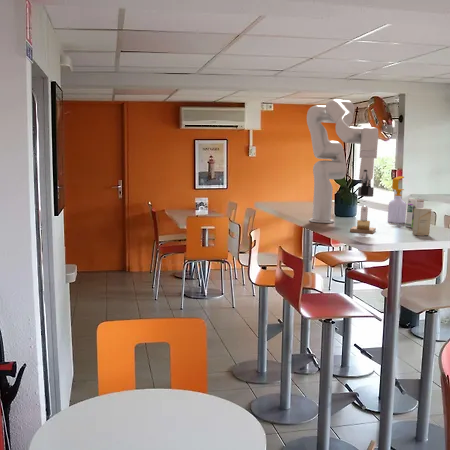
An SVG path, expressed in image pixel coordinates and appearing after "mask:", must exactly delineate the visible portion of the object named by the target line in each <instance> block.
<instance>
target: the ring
mask: <svg viewBox="0 0 450 450" xmlns="http://www.w3.org/2000/svg"><path fill="white" fill-rule="evenodd" d="M374 188H375V187H373V186H371V187H369V189H368V195H361V186H359V187H358V190H357V196H358V197H366V198H367V197H369V198H370V197H374Z"/></svg>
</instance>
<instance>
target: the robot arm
mask: <svg viewBox="0 0 450 450" xmlns="http://www.w3.org/2000/svg"><path fill="white" fill-rule="evenodd" d="M306 113H307V114H306V124H307V127H308V130H309V133H310V139H311V145H312V151H313V156H314V157H315V158H316V159H319V160H318V161H316V162H315V163H314V164H313V166H312V167H313V168H312V173H313V201H312V202H313V203H312V217H311V218H309V220H308V221H309V222H311V223H316V224H317V223H319V224H332V223H334V222H335V220H334V219H332V211H333V210H332V208H333V190H334V189H333V185H332V182H331V180H342V179H344V178H345V176H346V175H347V162H346V156H345V149H344V147H343V146H344V145H342V143H341V142H339V141H337V140H330V139H329V136H328V131H327V129H326V127H325V126H324V125H323V123H328V124H329V123H330V124H335V133H336V135H337V136H338V138H339V139H340V140H341V141H342V142H343V143H345V144H358V145H360V146H359V148H360V149H359V159H360V164H359V166H360V167H359V175H358V179H359V180H361V186H360V187H361V195H368V189H369V187H372V186H371V185H372V181H371V180H372V179H373V177H374V165H375V159H377V156H378V144H379V143H378V142H379V129H378V128H377V127H374V126H373V127H371V126H369V127H368V126H366V127H359V126H351V124H352V123H353V120H354V114H355V105H354V103H353V101H351V100H345V99H344V100H343V99H331V100H329V101H328V102H327V103H326V104H325V105H322V104H321V105H313V106H311V107H309V108H308V109H307V112H306Z"/></svg>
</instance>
